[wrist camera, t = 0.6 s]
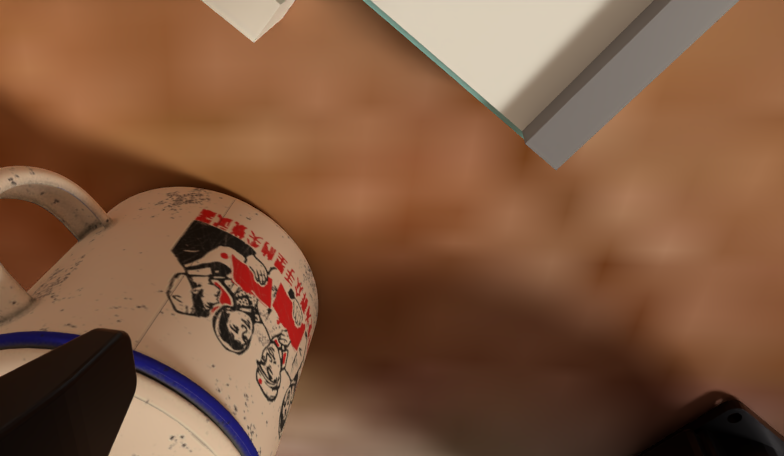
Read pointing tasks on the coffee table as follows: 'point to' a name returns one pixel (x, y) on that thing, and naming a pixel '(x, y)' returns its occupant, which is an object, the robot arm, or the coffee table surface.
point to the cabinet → (553, 56)
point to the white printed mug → (172, 311)
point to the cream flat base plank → (251, 14)
